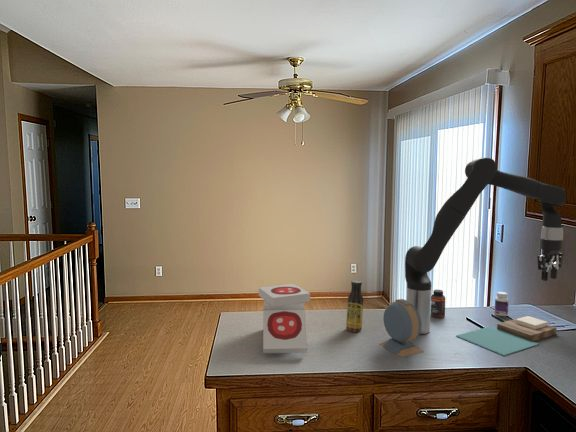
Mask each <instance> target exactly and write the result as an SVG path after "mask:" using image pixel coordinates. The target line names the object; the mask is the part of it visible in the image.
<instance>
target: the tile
mask: <svg viewBox="0 0 576 432" xmlns="http://www.w3.org/2000/svg"><path fill="white" fill-rule="evenodd" d="M521 317H522V318H521ZM521 317H517V318H518V319H517V318H515V319H516V322H515V323H517V324H520V325H523V326H526V327H529V328H532V329H538V328H542V327H545V326H547V325H548V323H549V322H548V321H546V320H542V319H539V318H536V317H533V316H529V315H526V316H521Z"/></svg>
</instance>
